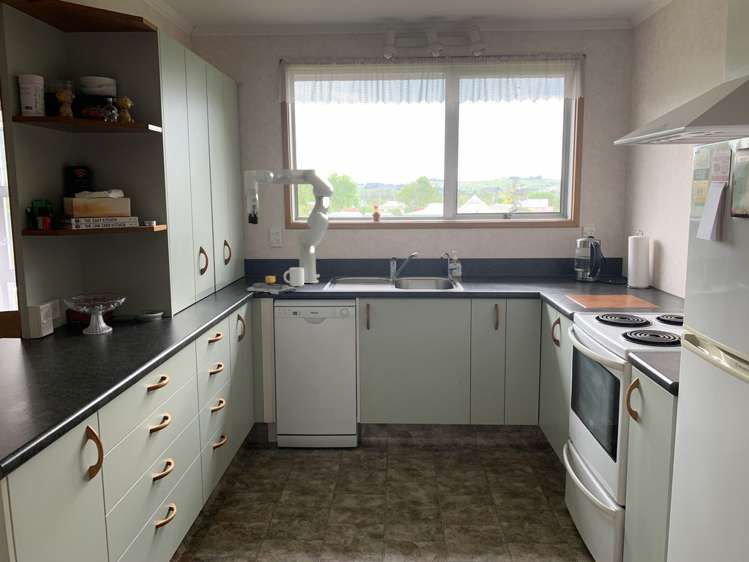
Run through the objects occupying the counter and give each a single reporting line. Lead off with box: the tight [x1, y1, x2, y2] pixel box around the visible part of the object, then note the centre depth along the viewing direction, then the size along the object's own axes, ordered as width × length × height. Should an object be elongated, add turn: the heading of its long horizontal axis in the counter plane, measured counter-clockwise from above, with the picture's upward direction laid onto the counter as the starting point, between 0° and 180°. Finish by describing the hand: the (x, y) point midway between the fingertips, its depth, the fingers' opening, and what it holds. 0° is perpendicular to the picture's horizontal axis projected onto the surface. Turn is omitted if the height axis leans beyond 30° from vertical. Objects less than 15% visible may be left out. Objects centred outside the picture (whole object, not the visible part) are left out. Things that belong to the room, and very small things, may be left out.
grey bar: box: [279, 287, 297, 295], centre depth 324 cm, size 13×1×1 cm, turn 151°
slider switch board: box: [246, 282, 295, 295], centre depth 330 cm, size 14×21×4 cm, turn 61°
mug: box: [283, 266, 305, 287], centre depth 346 cm, size 12×8×10 cm
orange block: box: [265, 275, 276, 285], centre depth 329 cm, size 4×4×6 cm
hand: (253, 223), depth 338 cm, fingers open, 9 cm apart
